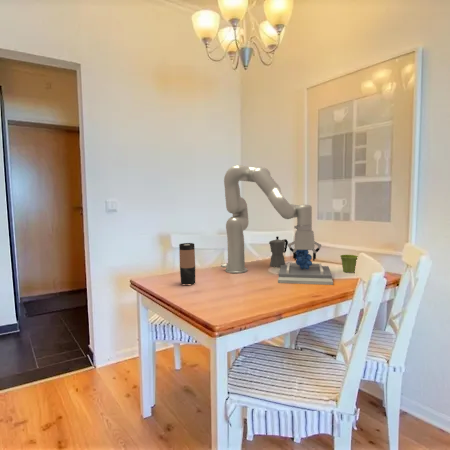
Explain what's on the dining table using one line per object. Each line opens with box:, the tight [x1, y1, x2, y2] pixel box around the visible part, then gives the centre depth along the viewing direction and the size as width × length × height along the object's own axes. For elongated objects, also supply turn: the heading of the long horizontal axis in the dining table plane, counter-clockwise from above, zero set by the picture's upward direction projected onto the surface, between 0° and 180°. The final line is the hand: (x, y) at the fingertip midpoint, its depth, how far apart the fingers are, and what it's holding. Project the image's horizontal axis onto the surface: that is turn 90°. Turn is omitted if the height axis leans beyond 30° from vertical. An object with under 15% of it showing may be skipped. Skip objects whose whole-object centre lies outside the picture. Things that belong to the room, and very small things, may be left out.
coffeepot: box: [268, 236, 289, 268], centre depth 207 cm, size 15×9×18 cm, turn 126°
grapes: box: [295, 250, 313, 269], centre depth 182 cm, size 12×7×12 cm, turn 39°
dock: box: [277, 262, 334, 286], centre depth 178 cm, size 26×28×5 cm
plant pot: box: [339, 254, 359, 273], centre depth 187 cm, size 9×9×9 cm
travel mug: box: [178, 242, 196, 285], centre depth 169 cm, size 8×8×20 cm
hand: (304, 260), depth 180 cm, fingers open, 9 cm apart
